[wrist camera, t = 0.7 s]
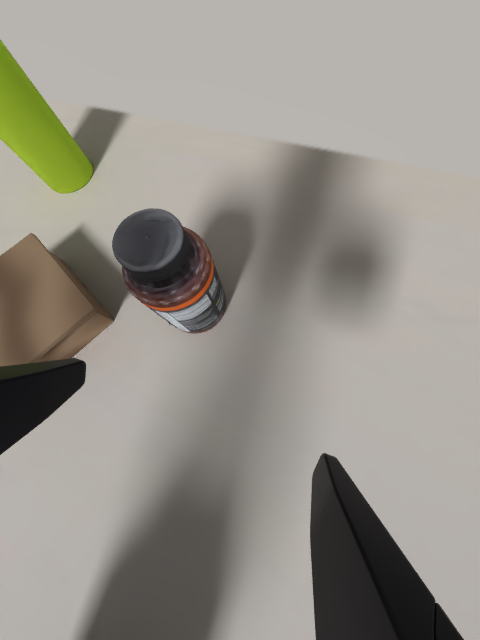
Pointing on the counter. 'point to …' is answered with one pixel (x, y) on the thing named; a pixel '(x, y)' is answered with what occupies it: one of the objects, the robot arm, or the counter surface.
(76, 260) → the counter surface
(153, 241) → the supplement bottle
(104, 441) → the counter surface
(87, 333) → the walnut stand
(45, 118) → the soap dispenser
